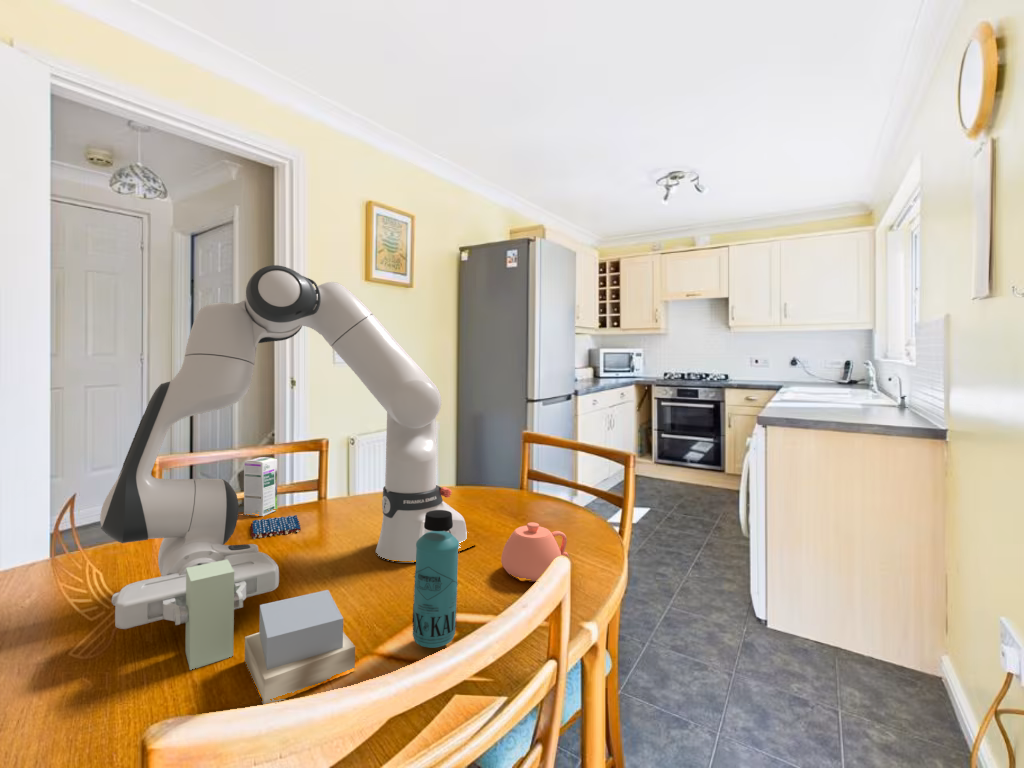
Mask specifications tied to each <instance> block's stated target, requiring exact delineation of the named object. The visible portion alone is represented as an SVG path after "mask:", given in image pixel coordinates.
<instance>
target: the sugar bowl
mask: <svg viewBox="0 0 1024 768" xmlns="http://www.w3.org/2000/svg"><path fill="white" fill-rule="evenodd" d="M557 536H561V543H560V544H561V545H560V546H559V544H558V542H557V540H556V538H555V537H557ZM567 542H568V540H567V535H566V534H565V533H564V532H562V531H560V530H555V531H552V532H551V531H550V529H548V528H546V527H543V526H540V524H539V522H538V523H537V522H527V524H526V525H523V526H522V525H521V526H519V527H517V528H515V529H514V531H513V532H512V533H511V534H510V536H509V538H508V539H507V541H506V542H505V545H504V546H503V550H502V554H501V560H500V561H501V565H502V567H503V568H504V570H505V571H506V572H507V574H509V575H510V574H511V575H513V576H515V577H519V578H526V579H531V580H532V581H531V582H537V581H536V580H537V579H538V578H539V577H540V575H541V574H542V573H543V572H544V571H545V569H546V568H547V567H548V566H549V565H550V563H551V562H552V561H553V559H554V558H556V557H557V556H560V555H563V556H564V557H565V556H568V557H570V556H569V554H568V552H567V551H565V550H566V548H567ZM511 575H510V576H511Z"/></svg>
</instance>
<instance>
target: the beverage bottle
mask: <svg viewBox="0 0 1024 768" xmlns="http://www.w3.org/2000/svg"><path fill="white" fill-rule="evenodd" d="M452 527H453V522H452V513H451V512H449V511H446V510H433V511H429V512H427V513H426V515H425V523H424V528H425V529H427V530H430V531H431V532H427V533H425V534H424V535H423V536H422V537H420V538H419V539H418V541H417V542H416V563H415V570H414V573H413V575H414V585H413V595H412V596H413V599H412V602H413V604H412V620H411V621H412V625H411V627H412V631H411V633H412V637H413V641H414V642H415V643H416V644H417V645H419V646H421V647H424V648H433V649H434V648H440V647H444V646H446V645H448V644H450V643H451V642H452V640H454V637H455V634H456V631H457V623H458V622H457V620H458V616H457V602H458V594H459V593H458V585H459V583H458V570H459V569H458V566H459V553H458V547H459V542H458V540H457V539H456V538H455V537H454V536H453V535H452V534H451V533H449V532H445V531H446V530H449V529H451V528H452Z"/></svg>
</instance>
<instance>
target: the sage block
mask: <svg viewBox="0 0 1024 768" xmlns="http://www.w3.org/2000/svg"><path fill="white" fill-rule="evenodd" d="M186 605H188V609H189V616H188V617H189V622H186V623H185V655H186V659H187V663H188V668H189V671H192V669H193V670H195V668H196V669H199V668H202V667H204V666H208V665H210V664H214V663H217V662H219V661H224V660H227V659H230V658H232V656H233V657H234V638H235V637H234V634H235V633H234V630H235V629H234V628H235V627H234V625H235V619H234V618H235V609H234V570H233V568H232V566H231V565H230V563H229V561H228V559H227V560H222V561H217V562H212V563H208V564H203V565H198V566H193V567H188V568H186ZM229 657H230V658H229Z"/></svg>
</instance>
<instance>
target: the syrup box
mask: <svg viewBox="0 0 1024 768" xmlns="http://www.w3.org/2000/svg"><path fill="white" fill-rule="evenodd" d="M273 509H277V510H278V459H277V458H275V457H267V456H264V457H263V456H262V457H261V456H259V457H257V458H256V457H255V458H253V459H248V460H245V461H244V462H243V514H244V515H245V516H247V515H246V514H250V515H255V514H259V516H263V517H265V516H267V515H269V514H271V513H274V512H277V511H276V510H273ZM267 510H268V511H267ZM270 510H271V511H270ZM258 512H259V513H258ZM252 513H255V514H252Z"/></svg>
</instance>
